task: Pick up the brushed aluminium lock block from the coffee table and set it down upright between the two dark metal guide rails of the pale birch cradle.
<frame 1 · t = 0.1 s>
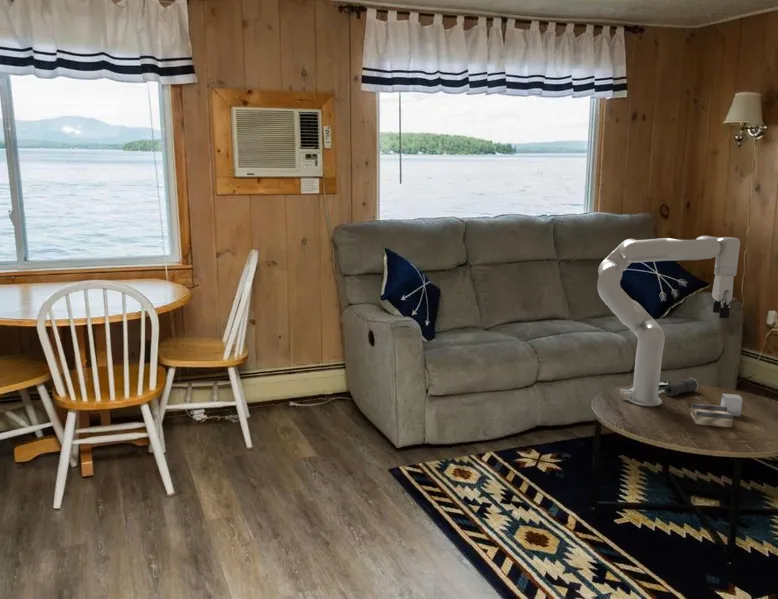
hand: (720, 315, 256), 37 cm above the table, fingers open, 9 cm apart
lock: (730, 413, 257), on the table
flashlight: (680, 393, 279), on the table
cradle: (710, 420, 249), on the table
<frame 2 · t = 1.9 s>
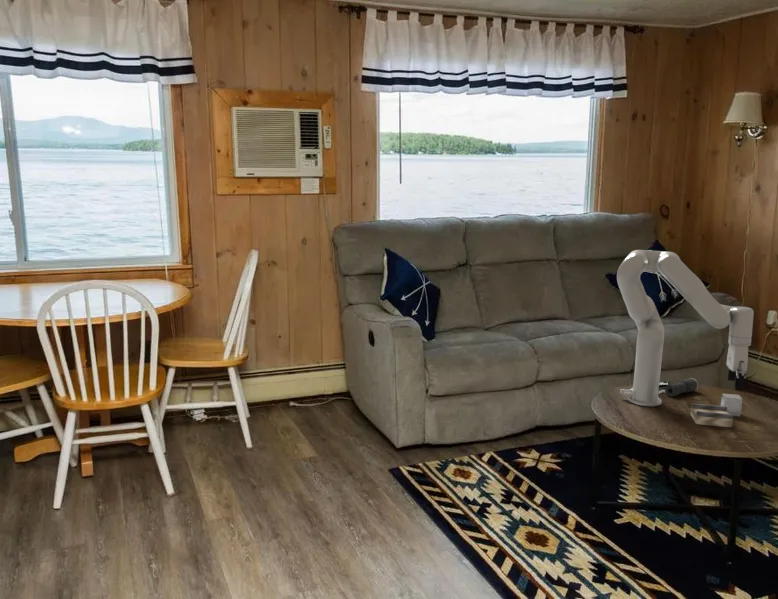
hand: (735, 384, 254), 12 cm above the table, fingers open, 9 cm apart
nothing on the table moved.
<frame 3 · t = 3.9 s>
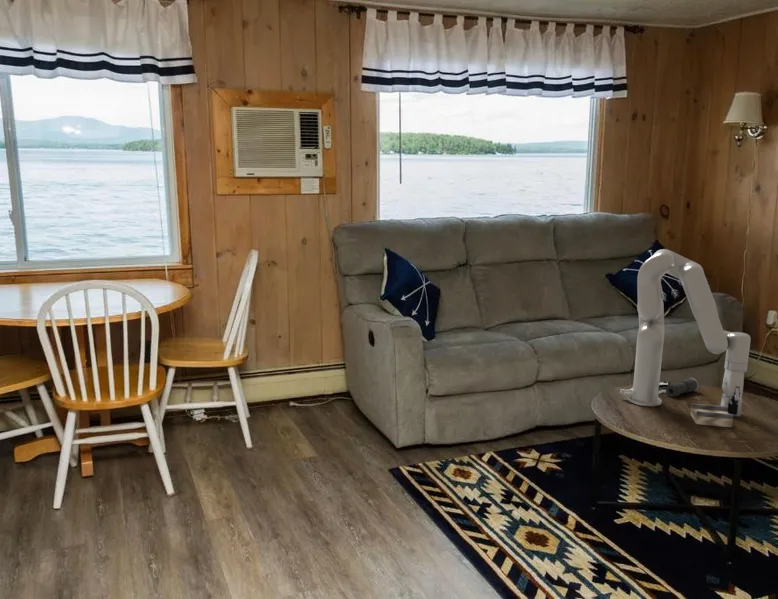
hand: (730, 411, 256), 1 cm above the table, fingers closed on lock, 4 cm apart
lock: (730, 413, 257), on the table, touching gripper
everything else where it was.
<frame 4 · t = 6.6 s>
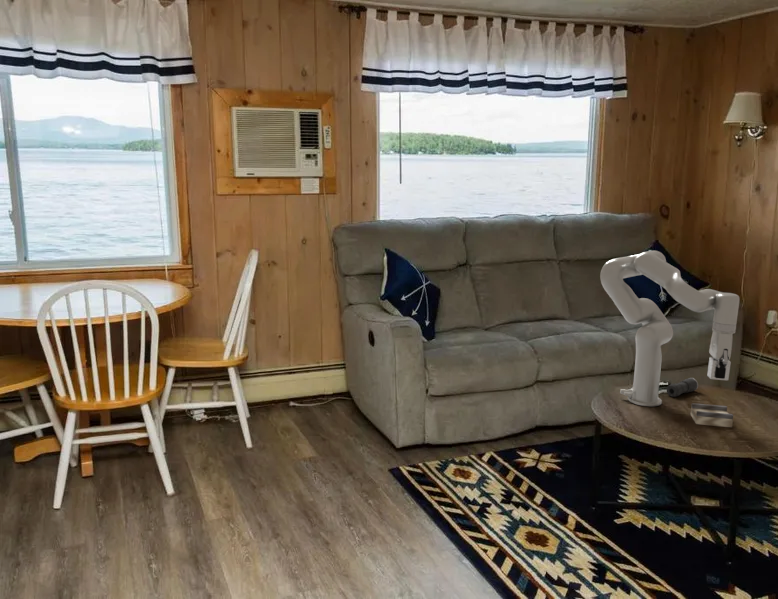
hand: (717, 375, 247), 17 cm above the table, fingers closed on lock, 4 cm apart
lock: (717, 377, 247), point 16 cm above the table, touching gripper
everything else where it was.
when the fingers open (6 cm above the table, at t = 9.6 s): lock drops 2 cm, resting on cradle.
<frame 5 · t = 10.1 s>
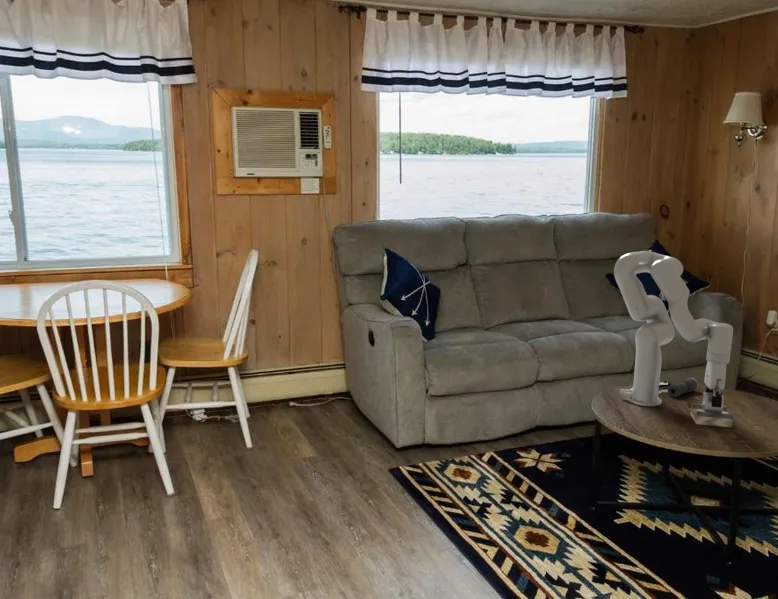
hand: (712, 402, 247), 7 cm above the table, fingers open, 9 cm apart
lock: (711, 412, 248), point 3 cm above the table, touching cradle
everything else where it was.
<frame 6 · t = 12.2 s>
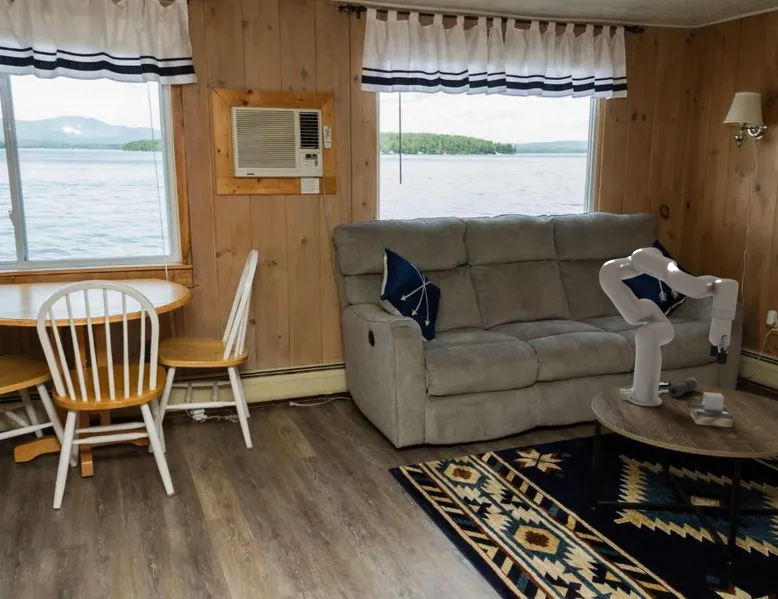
hand: (717, 359, 244), 23 cm above the table, fingers open, 9 cm apart
nothing on the table moved.
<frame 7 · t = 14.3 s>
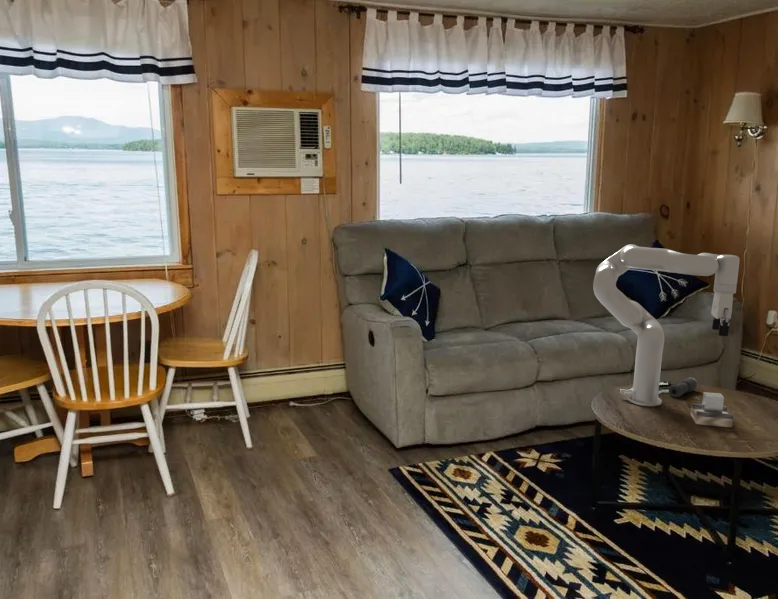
hand: (719, 332, 255), 30 cm above the table, fingers open, 9 cm apart
nothing on the table moved.
at the end: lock inside the target area on the cradle (0.1 cm from its centre), point 3.0 cm above the cradle's base; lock tilted 0°; the gripper is holding nothing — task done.
